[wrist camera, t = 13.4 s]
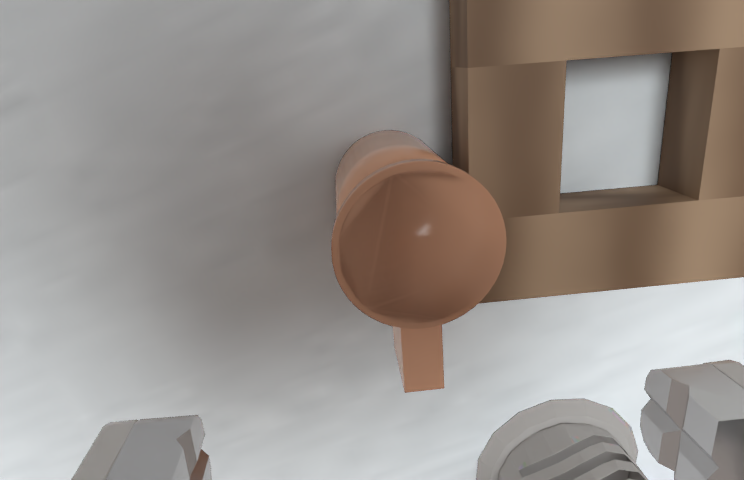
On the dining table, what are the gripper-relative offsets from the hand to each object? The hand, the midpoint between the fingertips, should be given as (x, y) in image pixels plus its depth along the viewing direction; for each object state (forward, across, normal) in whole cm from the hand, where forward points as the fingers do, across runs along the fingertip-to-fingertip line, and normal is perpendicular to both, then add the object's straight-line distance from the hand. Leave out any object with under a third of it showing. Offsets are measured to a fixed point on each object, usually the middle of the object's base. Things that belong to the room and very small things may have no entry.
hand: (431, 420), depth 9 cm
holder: (+16, -11, -3) cm, 20 cm away
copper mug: (+16, -1, +1) cm, 16 cm away
